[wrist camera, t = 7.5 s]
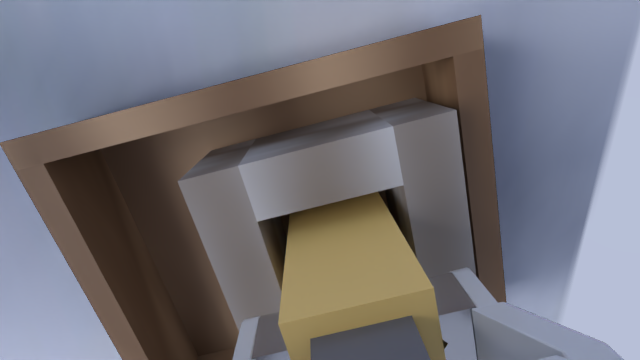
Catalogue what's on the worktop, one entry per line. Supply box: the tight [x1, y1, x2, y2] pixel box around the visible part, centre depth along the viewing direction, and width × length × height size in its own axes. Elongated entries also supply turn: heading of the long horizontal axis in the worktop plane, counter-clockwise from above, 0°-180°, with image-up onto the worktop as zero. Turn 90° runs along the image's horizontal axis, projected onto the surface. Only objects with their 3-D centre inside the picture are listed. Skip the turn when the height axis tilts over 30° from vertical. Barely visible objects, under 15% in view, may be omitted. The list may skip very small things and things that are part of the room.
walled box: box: [0, 15, 506, 360], centre depth 15 cm, size 16×14×5 cm
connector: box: [278, 192, 446, 360], centre depth 10 cm, size 4×4×10 cm
